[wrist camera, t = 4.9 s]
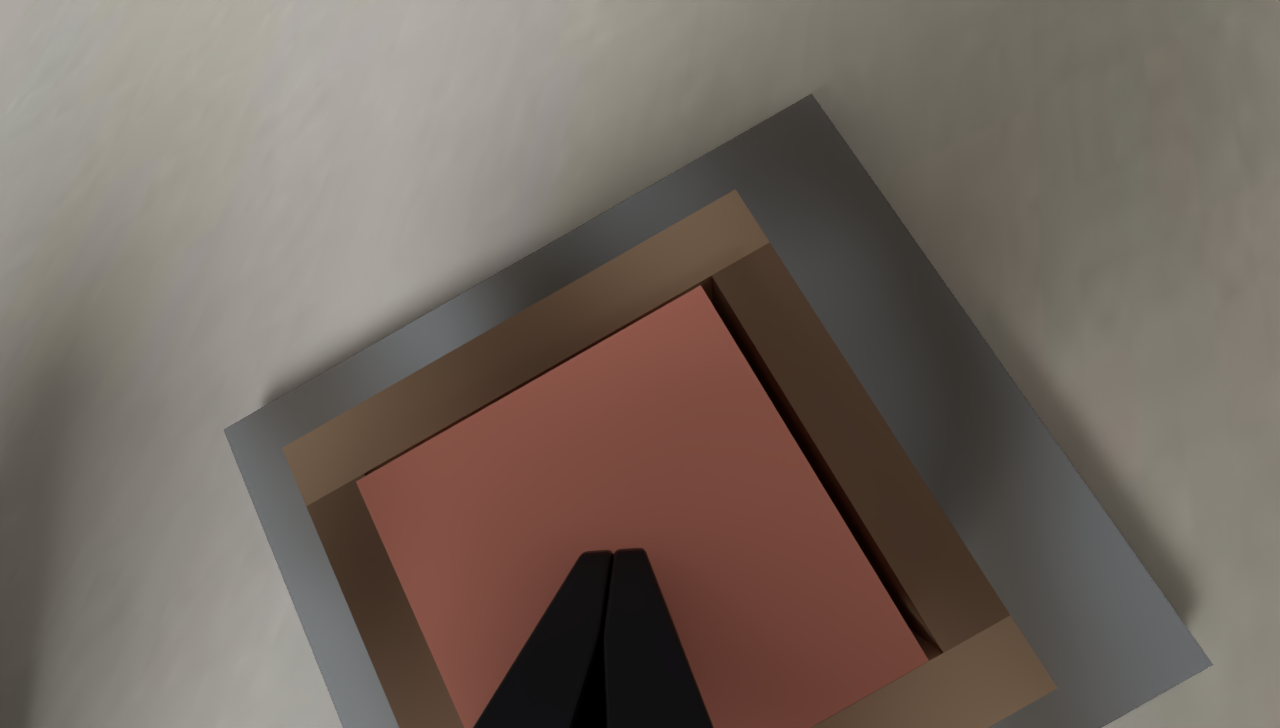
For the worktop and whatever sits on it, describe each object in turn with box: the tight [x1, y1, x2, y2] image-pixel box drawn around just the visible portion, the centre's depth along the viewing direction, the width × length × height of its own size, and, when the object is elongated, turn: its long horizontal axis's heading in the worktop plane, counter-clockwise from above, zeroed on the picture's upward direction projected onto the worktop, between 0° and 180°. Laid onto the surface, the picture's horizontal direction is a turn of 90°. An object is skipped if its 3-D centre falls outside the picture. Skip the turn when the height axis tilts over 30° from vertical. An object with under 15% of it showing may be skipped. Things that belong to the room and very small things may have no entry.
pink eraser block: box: [356, 285, 929, 728], centre depth 12 cm, size 6×6×6 cm
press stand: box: [224, 94, 1213, 728], centre depth 14 cm, size 18×16×7 cm
